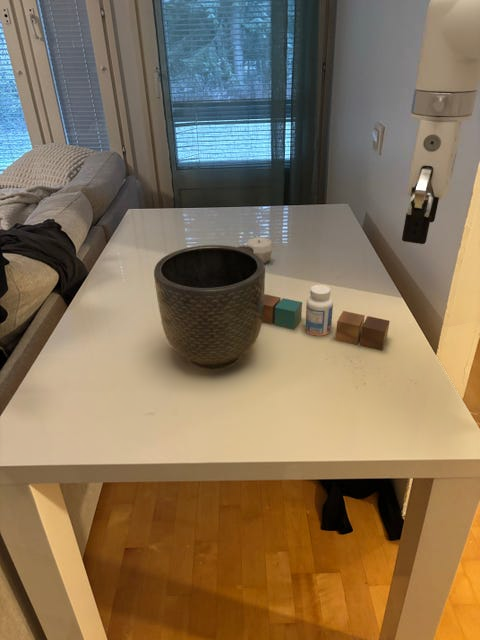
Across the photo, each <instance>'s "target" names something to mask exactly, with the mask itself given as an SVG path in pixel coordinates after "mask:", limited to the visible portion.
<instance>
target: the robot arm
mask: <svg viewBox="0 0 480 640" xmlns="http://www.w3.org/2000/svg"><path fill="white" fill-rule="evenodd" d="M423 28H424V29H423V33H422V34H423V35H422V41H421V46H420V47H421V48H420V54H419V60H418V67H417V73H416V79H415V80H416V81H415V86H414V91H413V98H412V105H411V109H410V116H409V117H410V118H412V119H415V120H418V122H417V126H416V127H417V128H416V133H415V139H414V144H413V150H412V156H411V163H410V168H409V169H410V170H409V177H408V185H407V195H408V196H410V200H409V204H408V208H407V212H405V213H406V214H405V219H404V225H403V230H402V236H401V241H402V242H405V243H411V244H419V245H425V244H426V242H427V238H428V234H429V228H430V224H431V223H434V222H435V220H436V215H437V211H438V206H439V201H443V200H444V199H445V198H446V196H447V194H448V191H449V189H450V185H451V180H452V174H453V171H454V167H455V161H456V157H457V152H458V146H459V143H460V136H461V131H462V125H463V124H462V123H463V122H464V121H468V120H469V121H470V120H471V119H472V118H473V113H474V108H475V102H476V98H477V94H478V89H479V85H480V0H430V1H429V3H428V5H427V11H426V16H425V22H424V27H423Z"/></svg>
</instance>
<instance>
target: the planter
mask: <svg viewBox="0 0 480 640" xmlns="http://www.w3.org/2000/svg"><path fill="white" fill-rule="evenodd" d="M238 247H239V246H231V245H223V244H205V245H196V246H195V245H194V246H189V247H186V248H182V249H178V250H176V251H173V252H170V253H168V254H167V255H165V256H163V257H162V258H161V259H160V260H159V261H157V262H156V264H155V266H154V270H153V277H154V284H155V285H154V286H155V293H156V299H157V305H158V310H159V316H160V321H161V325H162V329H163V332H164V335H165V337H166V340H167V341H168V344H169V345H170V346H171V348H172V349H173V350H174V351H175V352H176V353H177V354H179V355H180V356H181V357H183V358H185V359H186V360H188V361H189V362H190V363H191V364H193V365H194V366H197V367H198V368H202V369H207V370H217V369H224V368H227V367H229V366H231V365H233V364H235V363H236V362H237V361H238V360H239V359H240V358H241V357H242V356H244V355H245V354H246V353H247V352H248V351H249V350H251V348H252V347H253V346H254V345H255V343H256V342H257V339H258V337H259V335H260V332H261V328H262V323H263V322H262V316H263V304H264V294H265V290H266V289H265V288H266V285H265V284H266V283H265V282H266V267H265V263H263V261H262V259H261V258H260V257H259V256H257V255H256V254H254V253H252V252H250V251H248V250H245V249H242V248H238Z"/></svg>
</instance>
